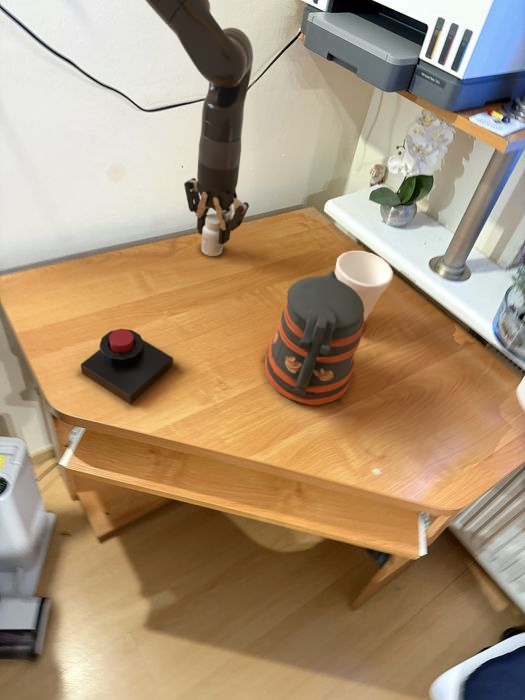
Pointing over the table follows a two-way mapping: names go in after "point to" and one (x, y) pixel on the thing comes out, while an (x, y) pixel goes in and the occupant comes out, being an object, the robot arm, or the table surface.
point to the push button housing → (127, 368)
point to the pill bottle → (211, 236)
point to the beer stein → (316, 340)
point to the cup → (364, 276)
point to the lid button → (121, 341)
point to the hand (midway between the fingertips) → (212, 237)
